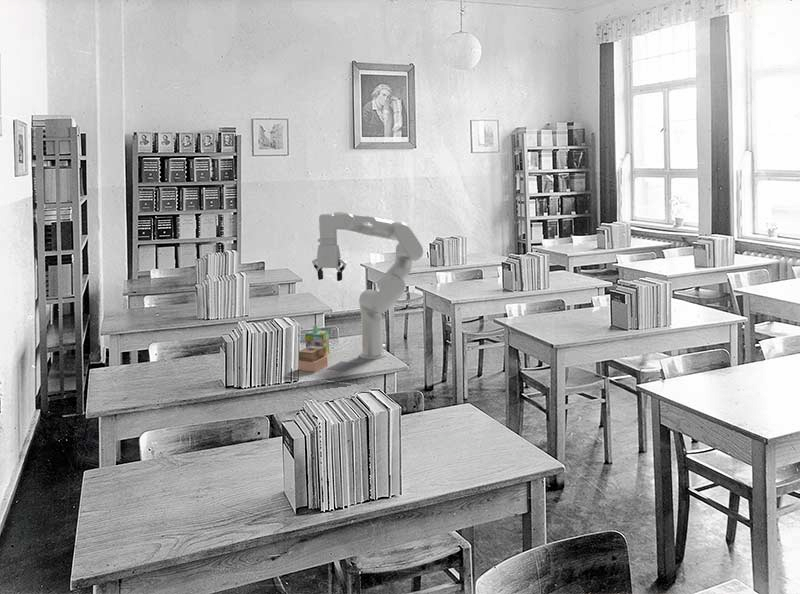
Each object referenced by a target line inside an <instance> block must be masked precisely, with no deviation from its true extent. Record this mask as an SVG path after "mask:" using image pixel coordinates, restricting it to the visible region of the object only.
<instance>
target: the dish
mask: <svg viewBox="0 0 800 594" xmlns="http://www.w3.org/2000/svg"><path fill="white" fill-rule="evenodd" d="M328 363H329V361H328V355H327V356H323V357H321V358H319V359H317V360H315V361H313V362H307V361H299V370H298V371H303V372H313V373H317V372H319V371H321V370H323V369H324V368H326V367H328V366H329V364H328Z"/></svg>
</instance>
